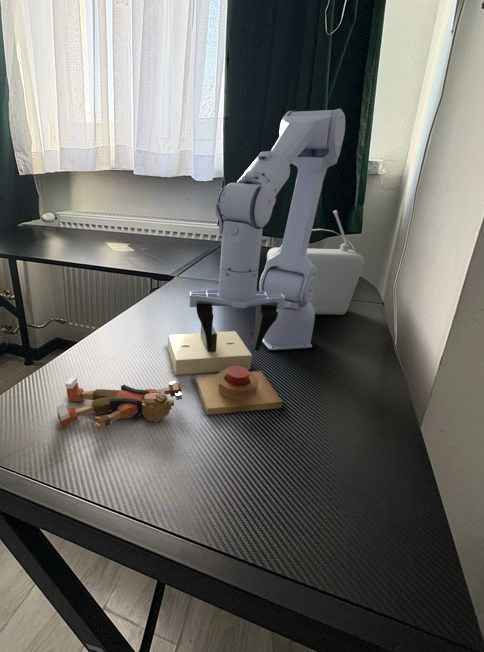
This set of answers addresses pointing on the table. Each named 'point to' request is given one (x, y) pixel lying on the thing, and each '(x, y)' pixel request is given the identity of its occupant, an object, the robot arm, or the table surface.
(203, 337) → the dark grey block
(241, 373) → the button
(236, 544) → the table surface
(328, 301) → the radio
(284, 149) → the robot arm
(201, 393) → the button block
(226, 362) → the panel
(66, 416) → the character figurine
